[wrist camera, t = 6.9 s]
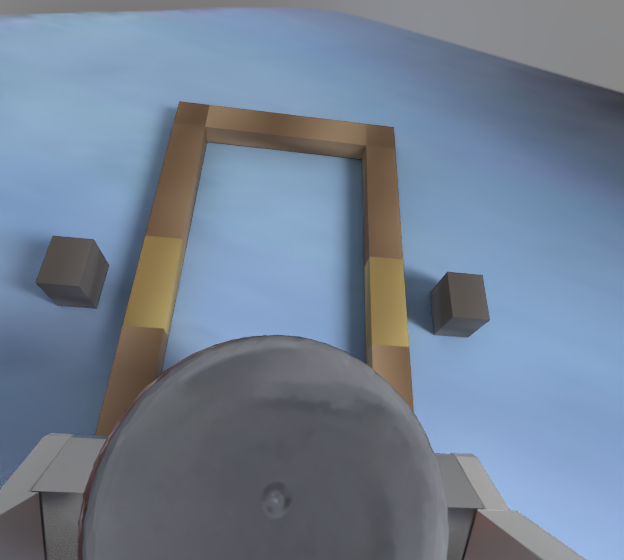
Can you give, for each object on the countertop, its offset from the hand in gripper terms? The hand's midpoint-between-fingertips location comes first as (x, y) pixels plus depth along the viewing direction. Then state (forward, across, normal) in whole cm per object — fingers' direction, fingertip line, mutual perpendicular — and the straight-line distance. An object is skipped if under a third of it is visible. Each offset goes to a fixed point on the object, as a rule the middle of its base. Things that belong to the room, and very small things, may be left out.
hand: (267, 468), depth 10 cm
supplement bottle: (+4, 0, +5) cm, 6 cm away
